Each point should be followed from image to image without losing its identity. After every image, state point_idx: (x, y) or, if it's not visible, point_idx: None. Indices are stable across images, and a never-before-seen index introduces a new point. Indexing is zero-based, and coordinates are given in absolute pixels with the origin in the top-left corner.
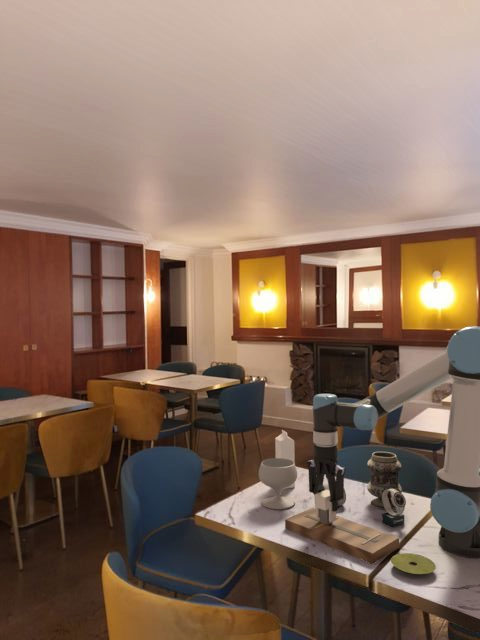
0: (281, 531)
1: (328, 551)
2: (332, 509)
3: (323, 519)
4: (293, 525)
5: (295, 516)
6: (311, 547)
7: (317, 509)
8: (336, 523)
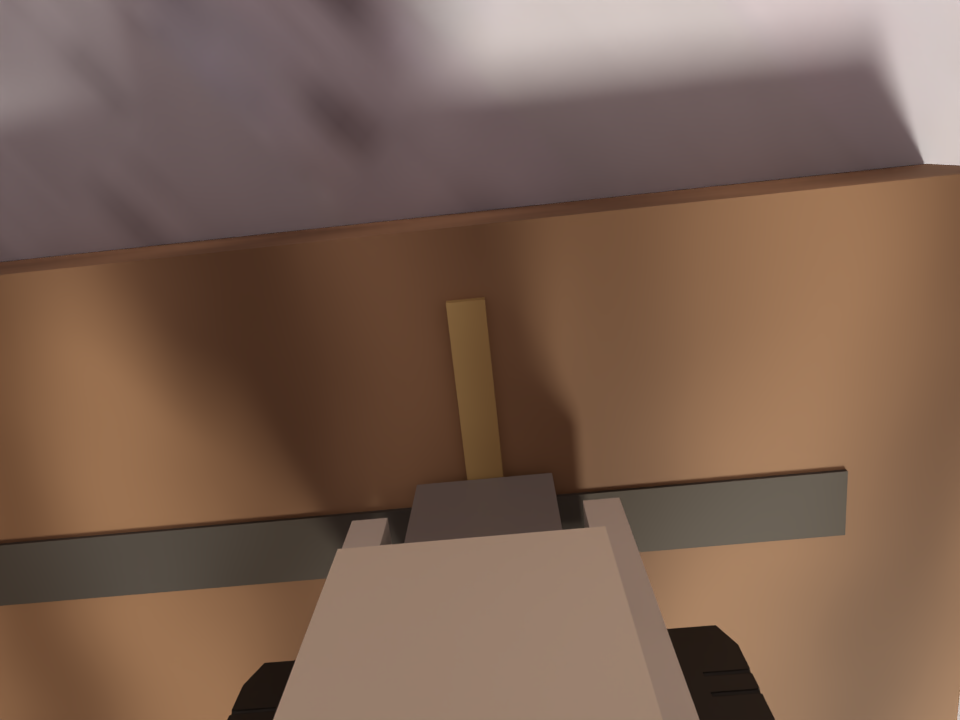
0: (907, 61)
1: (117, 140)
2: None
3: (482, 508)
4: (811, 186)
5: (952, 369)
6: (311, 46)
7: (619, 569)
8: None
